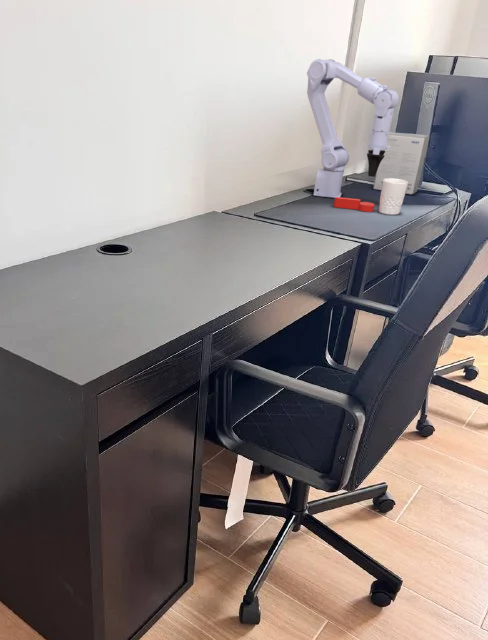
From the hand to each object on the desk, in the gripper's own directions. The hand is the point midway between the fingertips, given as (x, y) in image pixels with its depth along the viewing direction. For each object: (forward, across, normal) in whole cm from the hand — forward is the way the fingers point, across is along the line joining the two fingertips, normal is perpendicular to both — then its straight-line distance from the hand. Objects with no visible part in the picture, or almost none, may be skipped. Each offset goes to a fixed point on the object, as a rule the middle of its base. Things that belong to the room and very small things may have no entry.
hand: (372, 174), depth 198 cm
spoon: (+9, -11, +4) cm, 15 cm away
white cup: (+10, -11, -8) cm, 17 cm away
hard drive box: (+10, +27, -9) cm, 30 cm away
